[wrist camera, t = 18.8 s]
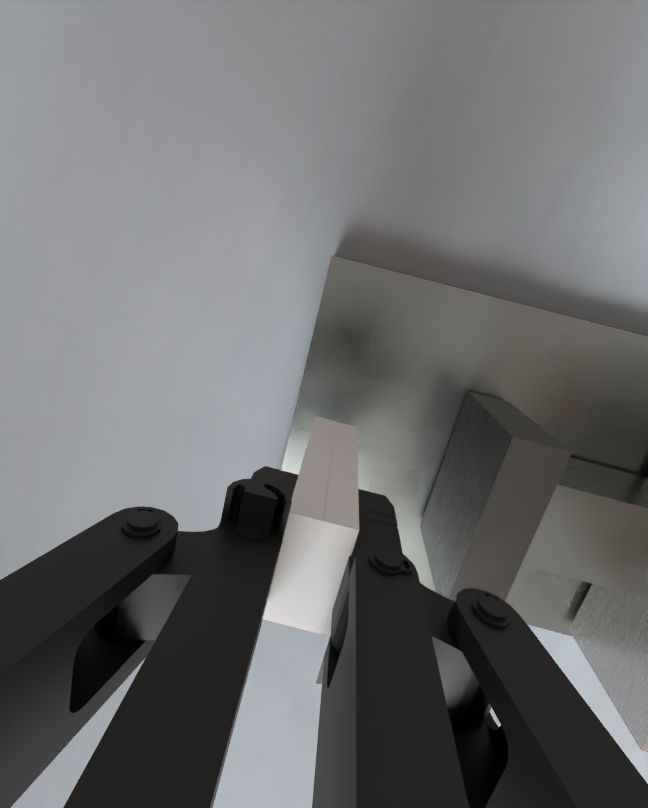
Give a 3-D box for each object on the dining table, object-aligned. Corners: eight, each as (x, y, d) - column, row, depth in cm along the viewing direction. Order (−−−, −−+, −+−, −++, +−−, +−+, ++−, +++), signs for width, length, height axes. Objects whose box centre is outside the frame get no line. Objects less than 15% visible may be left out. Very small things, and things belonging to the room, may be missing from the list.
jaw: (399, 584, 19) (412, 688, 14) (496, 312, 15) (557, 326, 11) (649, 651, 19) (750, 779, 14) (803, 391, 15) (1008, 441, 10)
